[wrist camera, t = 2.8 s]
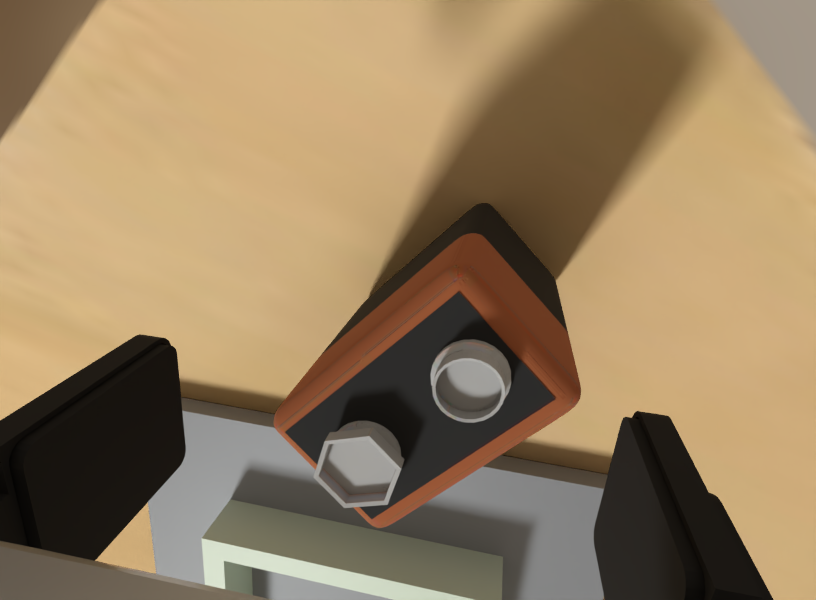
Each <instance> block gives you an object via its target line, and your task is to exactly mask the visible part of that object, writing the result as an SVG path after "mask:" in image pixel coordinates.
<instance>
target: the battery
mask: <svg viewBox="0 0 816 600" xmlns="http://www.w3.org/2000/svg"><path fill="white" fill-rule="evenodd" d="M580 395H581V387H580V382H579V378H578V373H577V369H576V365H575V361H574V357H573V352H572V348H571V344H570V340H569V336H568V331H567V327H566V323H565V319H564V315H563V310H562V306H561V302H560V298H559V294H558V290H557V285H556V281H555V279H554V277H553V276H552V275H551V273H550V272H549V271H548V270H547V269H546V268H545V266H544V265H543V264H542V263H541V262H540V261H539V259H538V258H537V257H536V256H535V255H534V254H533V253H532V251H531V250H530V249H529V248H528V247H527V246H526V245H525V243H524V242H523V241H522V240H521V239H520V238H519V236H518V235H517V234H516V233H515V232H514V231H513V230H512V228H511V227H510V226H509V225H508V224H507V223H506V221H505V220H504V219H503V218H502V217H501V216H500V215H499V213H498V212H497V211H496V210H495V209H494V208H493V207H492V206H491V205H490V204H487V203H482V204H478V205H476V206H474V207H473V208H472V209H470V210H469V211H468V212H467V213H466V214H465V215H463V216H462V217H461V218H460V219H459V220H458V221H456V222H455V223H454V224H453V225H452V226H451V227H450V228H448V229H447V230H446V231H445V232H444V233H443V234H442V235H440V236H439V237H438V238H437V239H436V240H435V241H434V242H432V243H431V244H430V245H429V246H428V247H427V248H425V249H424V250H423V251H422V252H421V253H420V254H419V255H417V256H416V257H415V258H414V259H413V260H412V261H411V262H409V263H408V264H407V265H406V266H405V267H404V268H403V269H401V270H400V271H399V272H398V273H397V274H396V275H395V276H393V277H392V278H391V279H390V280H389V281H388V282H387V283H385V284H384V285H383V286H382V287H381V288H380V289H379V290H377V291H376V292H375V293H374V294H373V295H372V296H371V297H369V298H368V299H367V300H366V301H365V302H364V303H363V304H362V305H361V307H360V308H359V309H358V310H357V312H356V313H355V314H354V315H353V316H352V318H351V319H350V320H349V321H348V323H347V324H346V325H345V326H344V328H343V329H342V330H341V331H340V332H339V334H338V335H337V336H336V337H335V339H334V340H333V341H332V342H331V344H330V345H329V346H328V347H327V348H326V350H325V351H324V352H323V353H322V355H321V356H320V357H319V358H318V360H317V361H316V362H315V363H314V364H313V366H312V367H311V368H310V369H309V371H308V372H307V373H306V374H305V376H304V377H303V378H302V379H301V380H300V382H299V383H298V384H297V385H296V387H295V388H294V389H293V390H292V392H291V393H290V394H289V395H288V396H287V398H286V399H285V400H284V401H283V403H282V404H281V405H280V406H279V408H278V409H277V411H276V413H275V416H274V427H275V429H276V430H277V431H278V433H279V434H280V435H281V436H282V437H283V438H284V439H285V440H286V441H287V442H288V443H289V444H290V445H291V446H292V447H293V448H294V449H295V450H296V451H297V452H298V453H299V454H300V455H301V456H302V457H303V458H304V459H305V460H306V461H307V462H308V463H309V464H310V465H311V466H312V467H313V468H314V469H315V470H316V471H315V474H314V478H315V479H316V480H317V481H318V482H319V483H320V484H321V485H322V486H323V487H324V488H325V489H326V490H327V491H328V492H329V493H330V494H331V495H332V496H333V497H334V498H335V499H336V500H337V501H338V502H339V503H340V504H341V505H342V506H343V507H344V508H351V507H353V508H354V509H355V510H356V511H357V512H358V513H359V514H360V515H361V516H362V517H363V518H364V519H365V520H366V521H367V522H369V523H370V524H371V525H372V526H374V527H377V528H383V527H386V526H389V525H391V524H392V523H394V522H396V521H397V520H399V519H401V518H402V517H404V516H405V515H407V514H409V513H410V512H412V511H413V510H415V509H417V508H418V507H420V506H421V505H423V504H424V503H426V502H428V501H429V500H431V499H432V498H434V497H435V496H437V495H439V494H440V493H442V492H443V491H445V490H446V489H448V488H450V487H451V486H453V485H454V484H456V483H457V482H459V481H461V480H462V479H464V478H465V477H467V476H468V475H470V474H472V473H473V472H475V471H476V470H478V469H479V468H481V467H483V466H484V465H486V464H487V463H489V462H490V461H492V460H494V459H495V458H497V457H498V456H500V455H501V454H503V453H505V452H506V451H508V450H509V449H511V448H512V447H514V446H516V445H517V444H519V443H520V442H522V441H523V440H525V439H527V438H528V437H530V436H531V435H533V434H534V433H536V432H538V431H539V430H541V429H542V428H544V427H546V426H547V425H549V424H550V423H552V422H553V421H555V420H556V419H558V418H559V417H561V416H563V415H564V414H565V413H567V412H568V411H570V410H571V409H572V408H573V407H575V405H576V404H577V403H578V401H579V399H580Z"/></svg>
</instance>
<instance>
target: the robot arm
mask: <svg viewBox="0 0 816 600" xmlns="http://www.w3.org/2000/svg"><path fill="white" fill-rule="evenodd" d="M185 453H186V444H185V434H184V423H183V413H182V402H181V392H180V381H179V371H178V360H177V352H176V349H175V348H174V347H173V346H171V344H170V342H169V341H168V340H167V339H166V338H160V337H153V336H147V335H137V336H135V337H133V338H132V339H130V340H128V341H127V342H125V343H124V344H122V345H120V346H119V347H117V348H116V349H114V350H112V351H111V352H109V353H108V354H106V355H104V356H103V357H101V358H100V359H98V360H96V361H95V362H93V363H92V364H90V365H88V366H87V367H85V368H84V369H82V370H80V371H79V372H77V373H76V374H74V375H72V376H71V377H69V378H68V379H66V380H64V381H63V382H61V383H60V384H58V385H57V386H55V387H53V388H52V389H50V390H49V391H47V392H45V393H44V394H42V395H41V396H39V397H37V398H36V399H34V400H33V401H31V402H29V403H28V404H26V405H25V406H23V407H21V408H20V409H18V410H17V411H15V412H13V413H12V414H10V415H9V416H7V417H5V418H4V419H2V420H1V421H0V600H271V599H267V598H262V597H258V596H253V595H249V594H244V593H240V592H235V591H231V590H226V589H222V588H217V587H213V586H208V585H204V584H199V583H195V582H190V581H186V580H181V579H177V578H172V577H167V576H163V575H158V574H154V573H149V572H144V571H140V570H135V569H130V568H126V567H121V566H116V565H112V564H107V563H102V562H98V561H95V560H96V559H97V558H98V557H99V555H100V554H101V553H102V552H103V551H104V550H105V549H106V548H107V547H108V545H109V544H110V543H111V542H112V541H113V540H114V539H115V538H116V537H117V536H118V534H119V533H120V532H121V531H122V530H123V529H124V528H125V527H126V526H127V524H128V523H129V522H130V521H131V520H132V519H133V518H134V517H135V516H136V514H137V513H138V512H139V511H140V510H141V509H142V508H143V507H144V506H145V505H146V503H147V502H148V501H149V500H150V499H151V498H152V497H153V496H154V495H155V493H156V492H157V491H158V490H159V489H160V488H161V487H162V486H163V485H164V483H165V482H166V481H167V480H168V479H169V478H170V477H171V476H172V475H173V474H174V472H175V471H176V470H177V469H178V468H179V467H180V465H181V464H182V462H183V460H184V457H185ZM594 547H595V552H596V557H597V562H598V567H599V572H600V578H601V583H602V588H603V593H604V598H605V600H773V598H772V596H771V594H770V592H769V591H768V589H767V587H766V585H765V583H764V581H763V579H762V578H761V576H760V574H759V572H758V570H757V568H756V566H755V564H754V563H753V561H752V559H751V557H750V555H749V553H748V551H747V549H746V548H745V546H744V544H743V542H742V540H741V538H740V536H739V534H738V533H737V531H736V529H735V527H734V525H733V523H732V521H731V519H730V518H729V516H728V514H727V512H726V510H725V508H724V506H723V504H722V503H721V501H720V500H719V499H718V497H717V496H715V495H713V494H711V493H709V492H708V490H707V488H706V486H705V484H704V483H703V481H702V479H701V477H700V475H699V473H698V471H697V469H696V467H695V465H694V463H693V461H692V459H691V457H690V455H689V453H688V451H687V450H686V448H685V446H684V444H683V442H682V440H681V438H680V436H679V434H678V432H677V430H676V428H675V426H674V424H673V422H672V420H671V419H670V417H669V416H665V415H658V414H652V413H645V412H639V411H637V412H635V413H634V415H633V417H632V418H629V417H624V418H623V420H622V423H621V426H620V430H619V434H618V438H617V442H616V445H615V449H614V453H613V457H612V461H611V464H610V468H609V472H608V476H607V480H606V484H605V487H604V491H603V495H602V499H601V503H600V507H599V510H598V514H597V518H596V522H595V526H594Z"/></svg>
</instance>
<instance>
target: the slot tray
mask: <svg viewBox="0 0 816 600" xmlns="http://www.w3.org/2000/svg"><path fill="white" fill-rule="evenodd" d="M181 402H182V413H183V423H184V434H185V444H186V453H185V457H184V460H183V462H182V464H181V465H180V467H179V468H178V469H177V470H176V471H175V472H174V474H173V475H172V476H171V477H170V478H169V479H168V480H167V481H166V482H165V483H164V485H163V486H162V487H161V488H160V489H159V490H158V491H157V492H156V493H155V495H154V496H153V497H152V498H151V499H150V500H149V501H148V506H149V515H150V524H151V532H152V541H153V550H154V558H155V567H156V574H158V575H163V576H167V577H172V578H177V579H181V580H186V581H190V582H195V583H199V584H204V585H208V586H213V587H217V588H222V589H226V590H231V591H235V592H240V593H244V594H249V595H253V596H258V597H262V598H267V599H271V600H603V597H604V593H603V588H602V583H601V578H600V572H599V567H598V562H597V557H596V552H595V547H594V526H595V522H596V518H597V514H598V510H599V507H600V503H601V499H602V495H603V491H604V487H605V484H606V480H607V476H608V475H607V474H601V473H596V472H590V471H585V470H579V469H574V468H568V467H563V466H557V465H552V464H546V463H541V462H535V461H530V460H524V459H519V458H513V457H508V456H502V455H500V456H498V457H497V458H495V459H494V460H492V461H490V462H489V463H487V464H486V465H484V466H483V467H481V468H479V469H478V470H476V471H475V472H473V473H472V474H470V475H468V476H467V477H465V478H464V479H462V480H461V481H459V482H457V483H456V484H454V485H453V486H451V487H450V488H448V489H446V490H445V491H443V492H442V493H440V494H439V495H437V496H435V497H434V498H432V499H431V500H429V501H428V502H426V503H424V504H423V505H421V506H420V507H418V508H417V509H415V510H413V511H412V512H410V513H409V514H407V515H405V516H404V517H402V518H401V519H399V520H397V521H396V522H394V523H392V524H391V525H389V526H386V527H383V528H377V527H374V526H372V525H371V524H370V523H369V522H367V521H366V520H365V519H364V518H363V517H362V516H361V515H360V514H359V513H358V512H357V511H356V510H355V509H354V508H353V507H351V508H344V507H343V506H342V505H341V504H340V503H339V502H338V501H337V500H336V499H335V498H334V497H333V496H332V495H331V494H330V493H329V492H328V491H327V490H326V489H325V488H324V487H323V486H322V485H321V484H320V483H319V482H318V481H317V480H316V479H315V478H314V474H315V471H316V470H315V469H314V468H313V467H312V466H311V465H310V464H309V463H308V462H307V461H306V460H305V459H304V458H303V457H302V456H301V455H300V454H299V453H298V452H297V451H296V450H295V449H294V448H293V447H292V446H291V445H290V444H289V443H288V442H287V441H286V440H285V439H284V438H283V437H282V436H281V435H280V434H279V433H278V431H277V430H276V429H275V427H274V416H275V414H270V413H265V412H259V411H254V410H248V409H243V408H237V407H232V406H226V405H221V404H215V403H210V402H204V401H199V400H193V399H188V398H182V397H181Z"/></svg>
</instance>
